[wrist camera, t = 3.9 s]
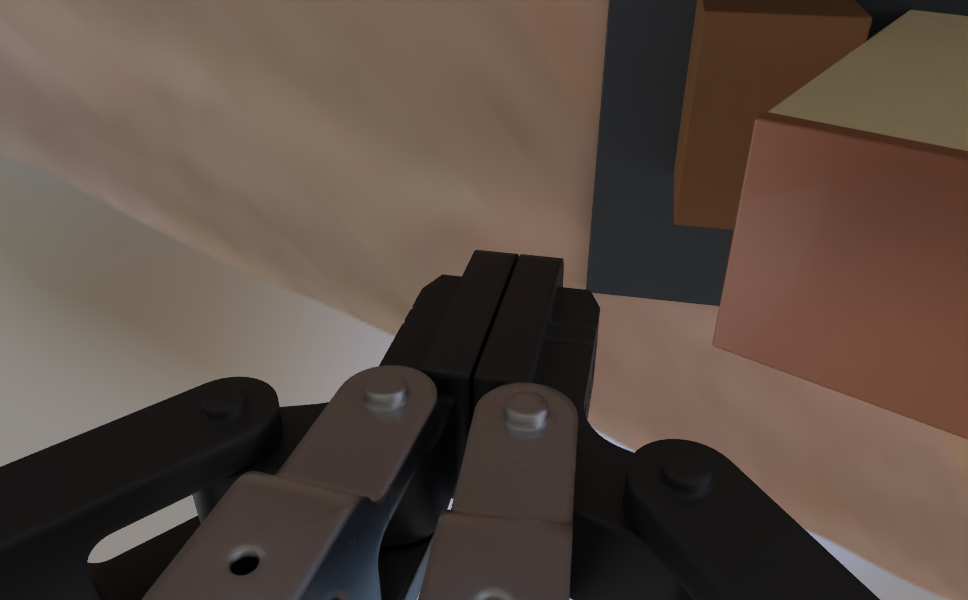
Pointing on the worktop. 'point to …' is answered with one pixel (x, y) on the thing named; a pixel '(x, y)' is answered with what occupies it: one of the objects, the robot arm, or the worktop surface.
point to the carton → (863, 227)
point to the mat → (646, 157)
